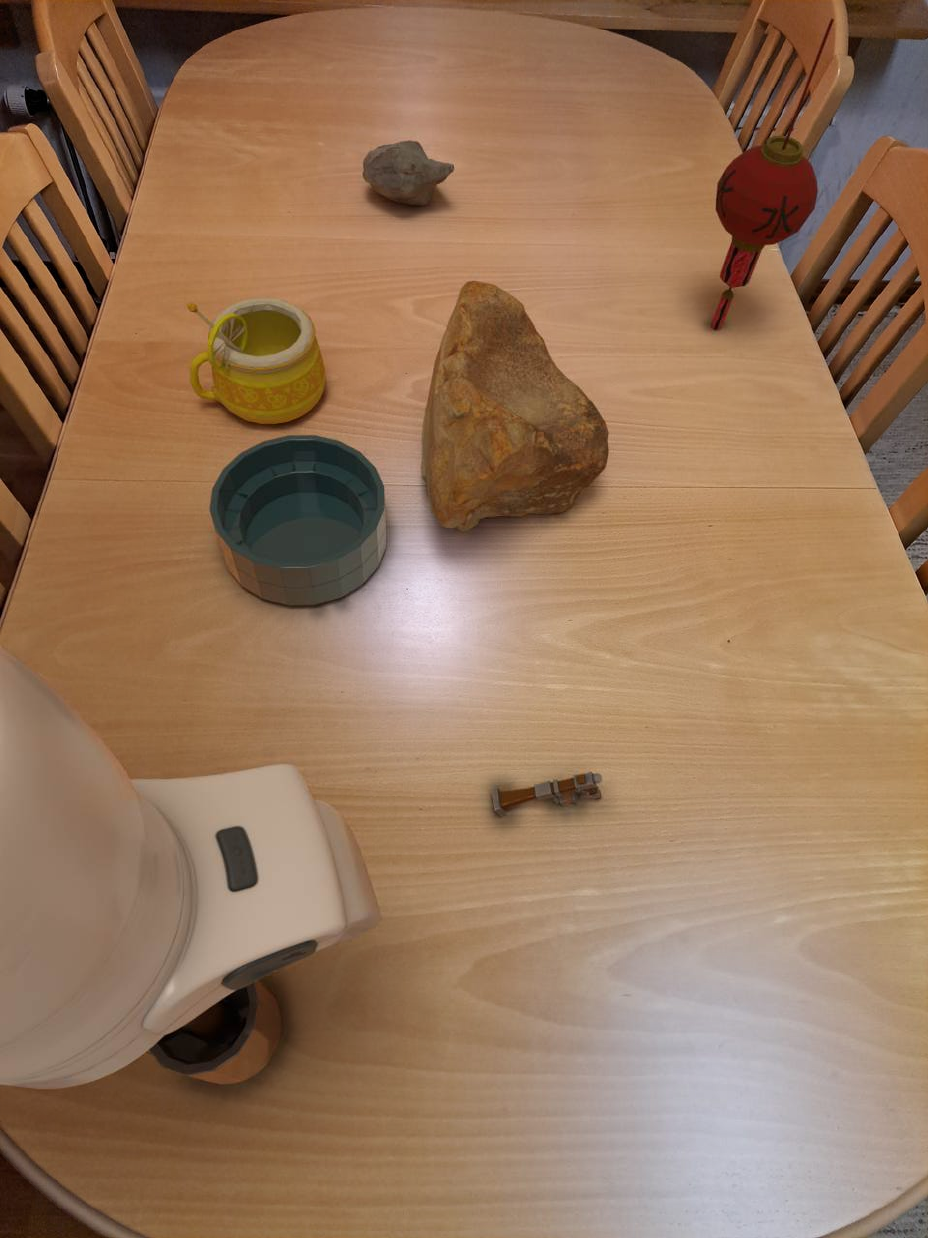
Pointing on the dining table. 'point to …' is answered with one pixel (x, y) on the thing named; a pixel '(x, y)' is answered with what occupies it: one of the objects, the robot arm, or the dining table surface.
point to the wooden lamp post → (549, 792)
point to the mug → (262, 361)
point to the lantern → (763, 202)
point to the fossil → (404, 172)
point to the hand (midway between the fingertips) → (170, 992)
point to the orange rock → (504, 418)
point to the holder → (232, 1058)
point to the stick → (217, 1023)
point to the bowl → (300, 519)
